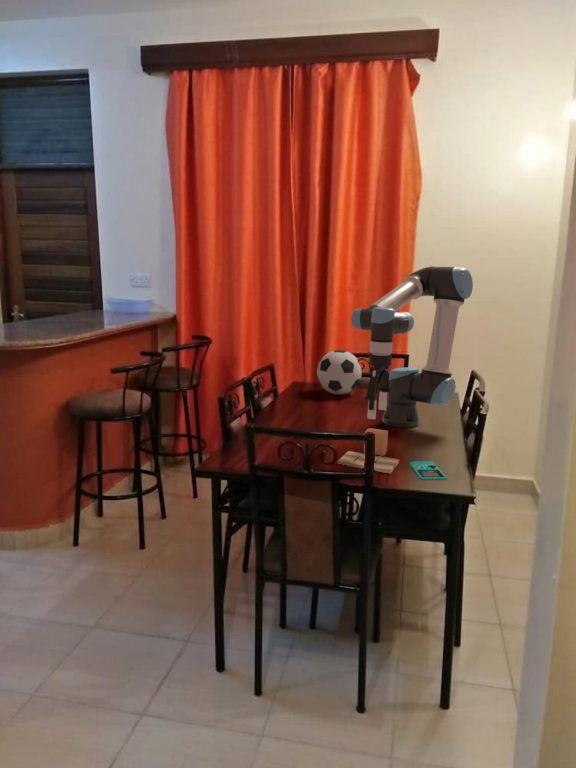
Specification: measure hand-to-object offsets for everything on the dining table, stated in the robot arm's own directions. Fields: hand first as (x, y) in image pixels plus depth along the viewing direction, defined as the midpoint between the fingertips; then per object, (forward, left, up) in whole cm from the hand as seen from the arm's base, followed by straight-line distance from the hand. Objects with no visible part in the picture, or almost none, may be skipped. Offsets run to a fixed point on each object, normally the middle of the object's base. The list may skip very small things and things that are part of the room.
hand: (377, 414), depth 200 cm
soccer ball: (-76, -41, -14) cm, 88 cm away
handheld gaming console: (+9, +20, -15) cm, 26 cm away
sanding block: (0, 0, -14) cm, 14 cm away
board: (+11, +1, -14) cm, 18 cm away
